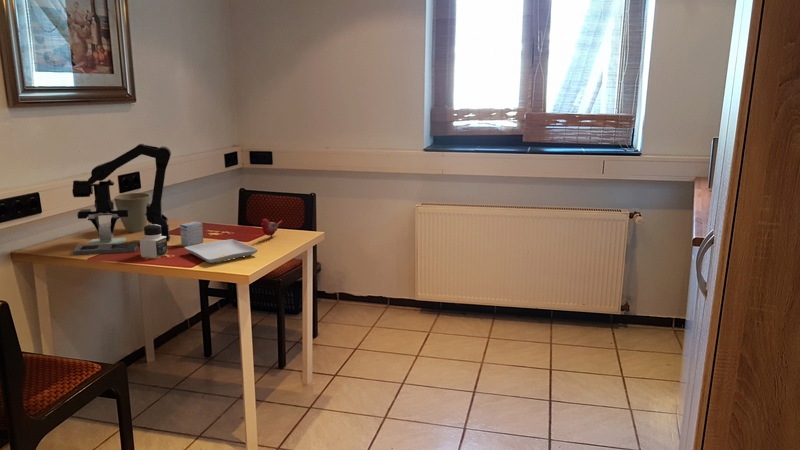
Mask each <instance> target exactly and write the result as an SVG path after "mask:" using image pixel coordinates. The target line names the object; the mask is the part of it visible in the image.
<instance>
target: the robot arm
mask: <svg viewBox="0 0 800 450" xmlns="http://www.w3.org/2000/svg"><path fill="white" fill-rule="evenodd" d="M143 155H144V156H146V157H150V158H154V159H155V169H156V170H155V177H154V183H153V191H152V198H151V201H150V204H147V206H146V210H147V212H146V214H145V216H146V215H147V222H148V223H149V224H156V225H160V226H161V236H166V237H167V242H168V241H170V239H171V236H170V227H169V224H168V221H169V218H168V217H167V216H166V215H164V214H163V205H162V198H163V192H164V191H163V190H164V185H165V176H166V170H167V167H168V164H169V162H170V159H171V155H172V152H171V150H170V148H169V147H167V146H163V145H162V146H159V147H158V146H153V145H147V144H144V143H139V144H138V145H136V146H135V147H133V148H132V149H130V150H128V151H126V152H124V153H123V154H121V155H119V156H117V157H116V158H114V159H112V160H110V161H106V162H104V163H101V164H98V165H96V166H95V167H93V168H92V169H91V172H90V174H91V175H90V177H89V178H88V179H87V180H78V179H74V180H73V181H72V196H73V198H90V197H91V195H94V208H95V210H93V211H92V209H91V208H87V209H85V208H84V209H83V208H82V209H81V208H80V210H79V211H77V215H76V216H77V220H78V219H79V220H81V219H84V220H85V219H87V221H90V222H91V223H92V225H93V226H94V227H95V229H96V231H97V232H98V234H99V228H98V227H99V226H100V225H101V224H100V221H99V218H100V217H101V216H111V218H110V224H111V232H112V233H113V234H114V232H115V231H114V230H115V227H116V224H117V221H118V220H119V219H120V217H128V216H129V215H130V209H129V208H119V209H118V210H117V209H115V208H114V207H115V206H114V204H115V202H114V201H112V199H111V190H110V189H111V188H110V187H111V186H112V187H113V186H114V185H115V182H114V181H112V180H111V179H110V178H108V177H109V176H110V175H111V174H113V173H114V172H115V171H117V169H119V168H121V167H122V166H124V165H126V164H128V163H130V162H131V161H133V160H135V159H136V158H139V157H140V156H143ZM107 178H108V180H106V179H107ZM96 182H98V183H96ZM99 216H100V217H99Z"/></svg>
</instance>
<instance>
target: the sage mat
mask: <svg viewBox="0 0 800 450" xmlns="http://www.w3.org/2000/svg"><path fill="white" fill-rule="evenodd" d="M126 240H127V237H114V238H113V239H112V241H100V238H92V239H91V240H89V243H87V245H94V244H115V243H126V242H125V241H126Z"/></svg>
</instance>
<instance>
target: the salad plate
mask: <svg viewBox="0 0 800 450" xmlns="http://www.w3.org/2000/svg"><path fill="white" fill-rule="evenodd" d="M183 248H184V250H185V251H186V252H188V253H190V254H191V255H193V256H196V257H197V258H199V259H201V260H203V261H205V262H207V263H210V264H216V263H215V262H218V263H220V262H219V261H223V262H225V261H224V260H228V259H233V258H238V257H243V256H246V257H250V256H253V255H255V254H256V253H257V252H258V251H259V249H258V248H256V247H254V246H251V245H249V244H246V243H244V242H241V241H238V240H237V239H232V238H229V239H223V240H216V241H210V242H203V243H198V244H195V245H191V246H184V247H183ZM222 255H227V256H223V257H219V256H222ZM249 255H250V256H249ZM243 258H244V257H243ZM238 259H239V258H238ZM233 260H234V259H233ZM228 261H229V260H228Z"/></svg>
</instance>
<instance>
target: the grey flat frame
mask: <svg viewBox="0 0 800 450" xmlns="http://www.w3.org/2000/svg"><path fill="white" fill-rule="evenodd" d="M138 247H139V242H137V241H135V242H124V243H115V244H94V245H88V244H77V246H76V247H75V248H74V249H73V250H72V256H82V255H83V256H85V255H101V254H102V255H103V254H119V253H120V254H122V253H135V252H136V251H137V249H138Z"/></svg>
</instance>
